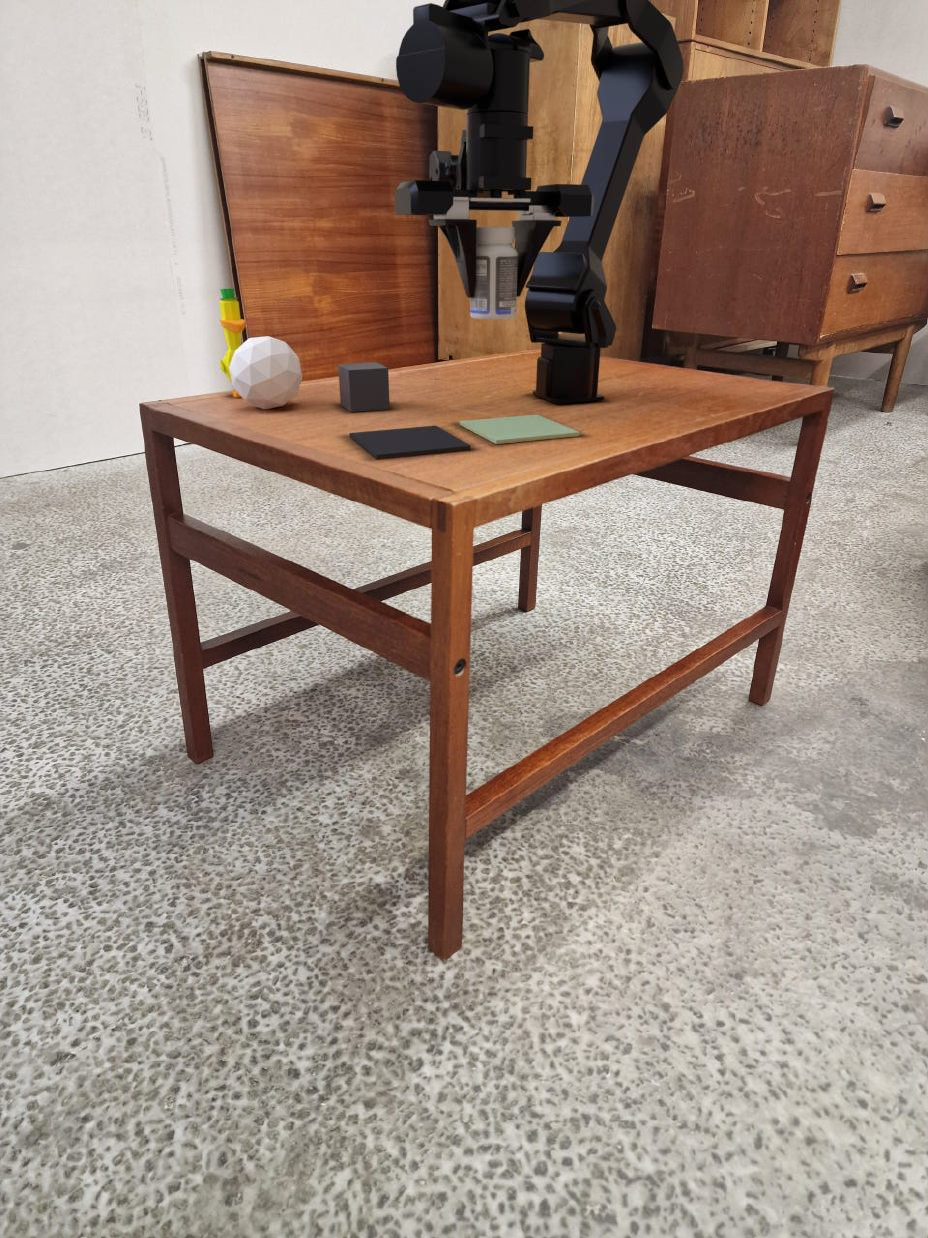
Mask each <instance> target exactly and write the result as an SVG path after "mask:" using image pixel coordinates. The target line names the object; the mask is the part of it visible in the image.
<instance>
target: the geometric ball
mask: <svg viewBox="0 0 928 1238" xmlns="http://www.w3.org/2000/svg"><path fill="white" fill-rule="evenodd" d="M229 370H230V375H231V380H232V382H231V384H232V388H233V390H234V389H235V390H236V391H237V393H238V394H239V395H240V396H241V397H240V398H242V400H244V402H245V403H246V404H248V405H250V406H253V407H256V408H258V409H262V410H265V411H266V410H270V409H276V408H280V407H284V406H285V405H286V404H287V403H289V402H290V401H291V400H292V399H293V398H295V397H296V396H297V395H298V393H299V390H300V388H301V387H300V386H301V384H302V382H303V372H302V367H301V361H300V357H299V356H298V355H297V354H296V353H295V351H294V350H293V349H292V348H291V346H289V344H288V343H287V342H286V341H283V340H281V339H278V338H275V337H272V336H269V335H266V336H265V335H264V336H256V337H249V338H248V339H246V340H245V341H244V342H243V343H241V346H240V347H239V348H238V349H237V350H236V351H235V352H234V355H233V358H232V361H231V363H230V366H229Z"/></svg>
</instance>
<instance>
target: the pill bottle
mask: <svg viewBox="0 0 928 1238" xmlns="http://www.w3.org/2000/svg"><path fill="white" fill-rule="evenodd" d="M513 243H514V244H515V228H514V227H513V226H477V236H476V284H475V291H474V297H473V298H469V315H470V317H471V318H472V319H474V320H479V321H480V320H481V321H506V320H507V321H509V320H512V319H515V318H516V316H517V304H518V303H517V301H518V300H517V298H518V297H517V265H518V253H517V250H516V249H515V248H514V246H513Z"/></svg>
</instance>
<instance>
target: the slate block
mask: <svg viewBox="0 0 928 1238" xmlns="http://www.w3.org/2000/svg"><path fill="white" fill-rule="evenodd" d="M337 369H338V387H339V401H340V406H342V407H343V408H344V409H346V410H347V411H349V412H350V413H361V412H372V411H385V410H390V409H391V405H390V402H391V401H390V379H389V377H390V375H389V367H387V366H385V365H383V364H381V363H379V362H376V361H375V362H374V361H373V362H371V361H370V362H356V363H355V362H354V363H340V364H339V363H338V364H337Z"/></svg>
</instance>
